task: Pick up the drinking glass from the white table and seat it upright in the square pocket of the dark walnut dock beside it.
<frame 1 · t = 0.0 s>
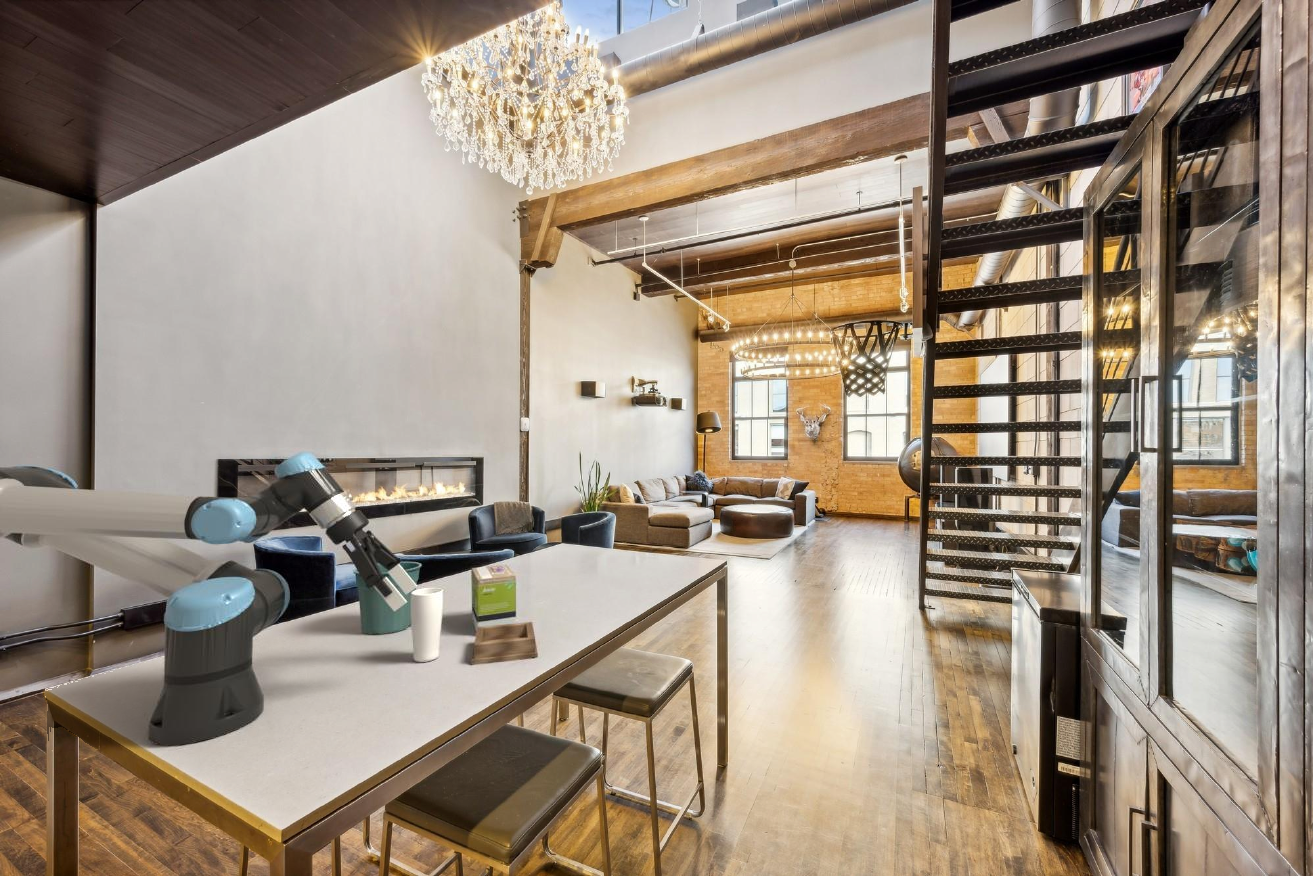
hand: (406, 598, 113), 15 cm above the table, tool tilted 35°, fingers open, 13 cm apart
drinking glass: (426, 659, 119), on the table, touching gripper
flower pot: (387, 628, 141), on the table
tea box: (493, 626, 142), on the table
walnut dock: (505, 650, 124), on the table
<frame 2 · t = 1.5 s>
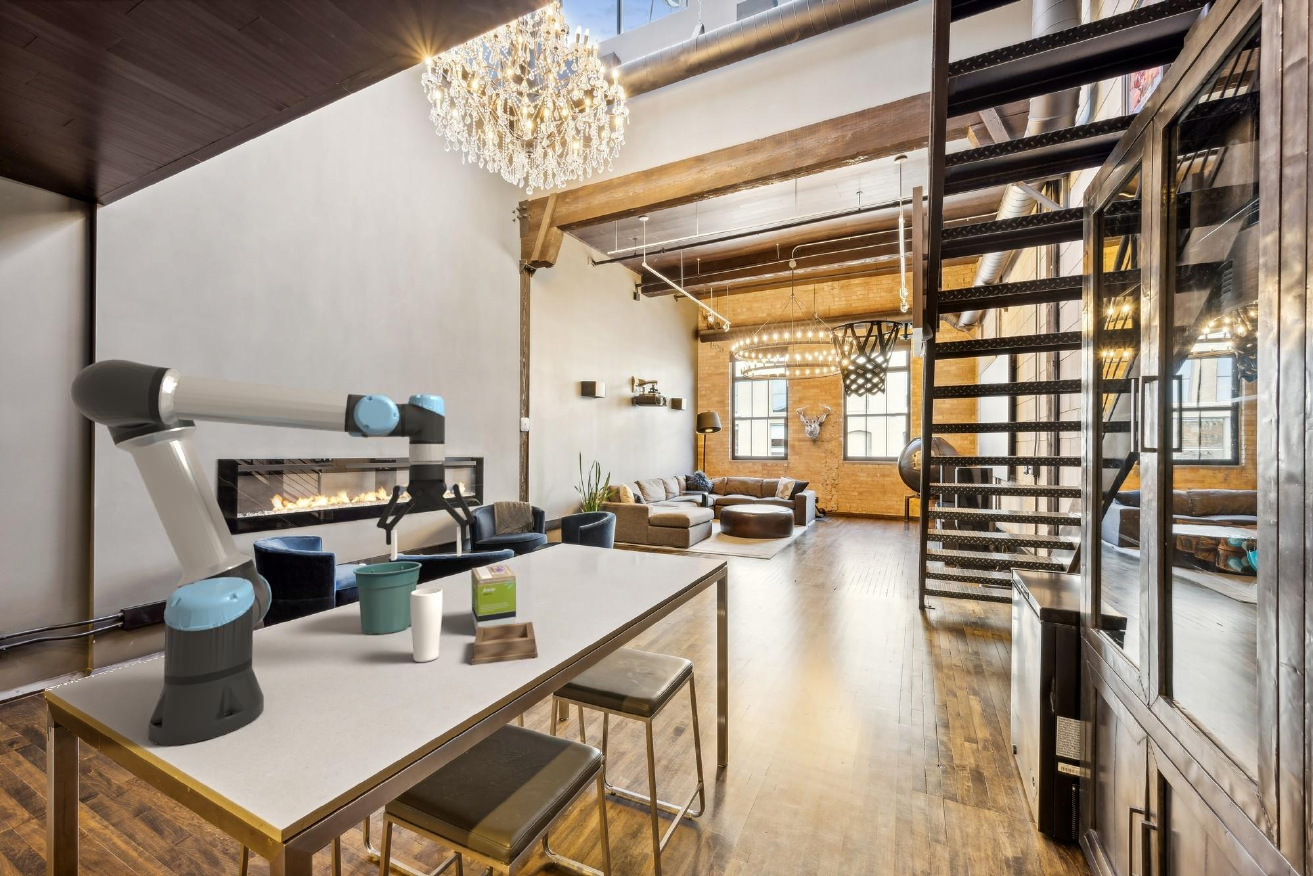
hand: (427, 557, 120), 23 cm above the table, tool pointing down, fingers open, 13 cm apart
drinking glass: (426, 659, 119), on the table
everything else where it was.
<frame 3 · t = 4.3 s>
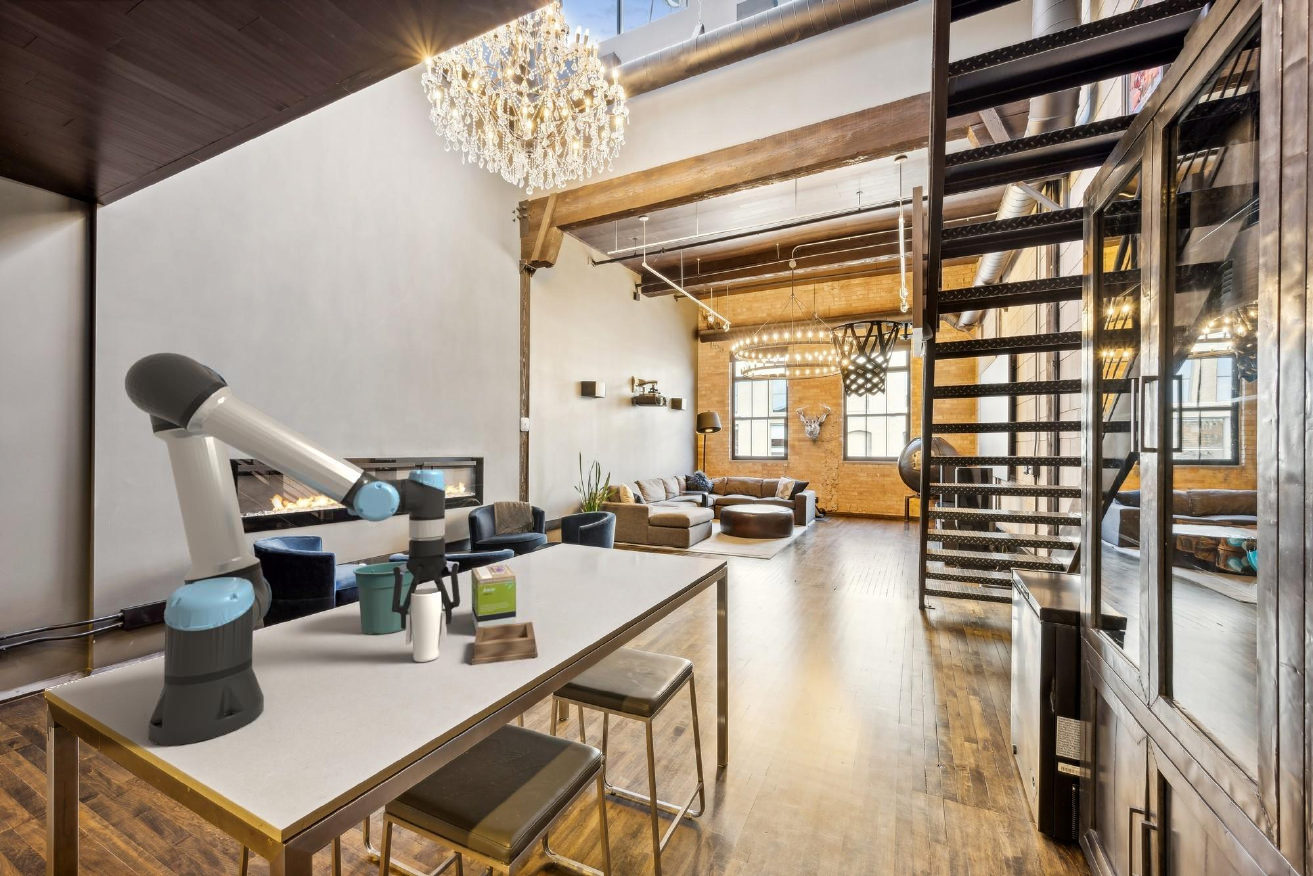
hand: (426, 640, 119), 4 cm above the table, tool pointing down, fingers closed on drinking glass, 7 cm apart
drinking glass: (426, 659, 119), on the table, touching gripper
everything else where it was.
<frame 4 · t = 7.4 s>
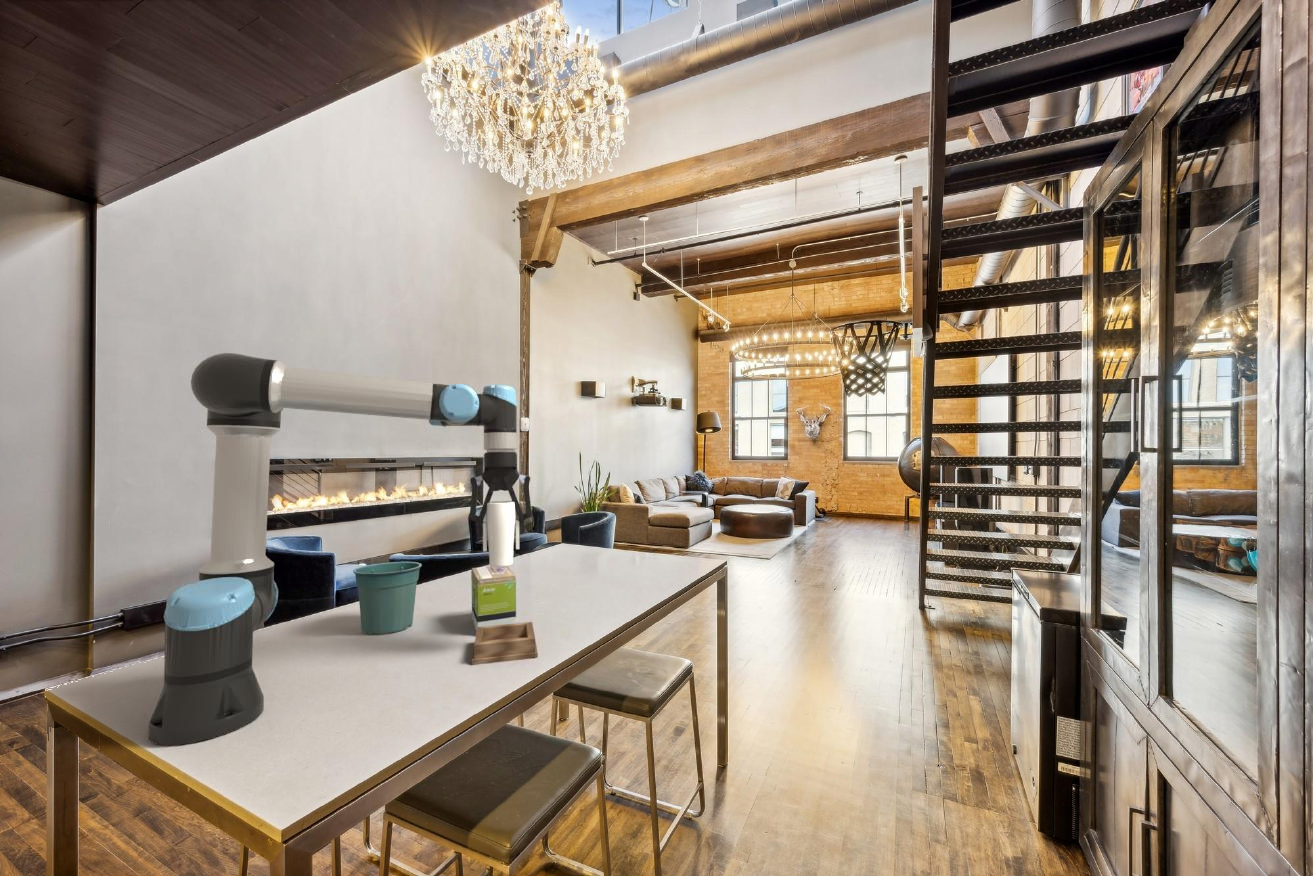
hand: (501, 549, 125), 23 cm above the table, tool pointing down, fingers closed on drinking glass, 7 cm apart
drinking glass: (501, 567, 124), point 19 cm above the table, touching gripper
everything else where it was.
when the fingers open (6 cm above the table, at t = 10.6 s): drinking glass stays where it is, resting on walnut dock.
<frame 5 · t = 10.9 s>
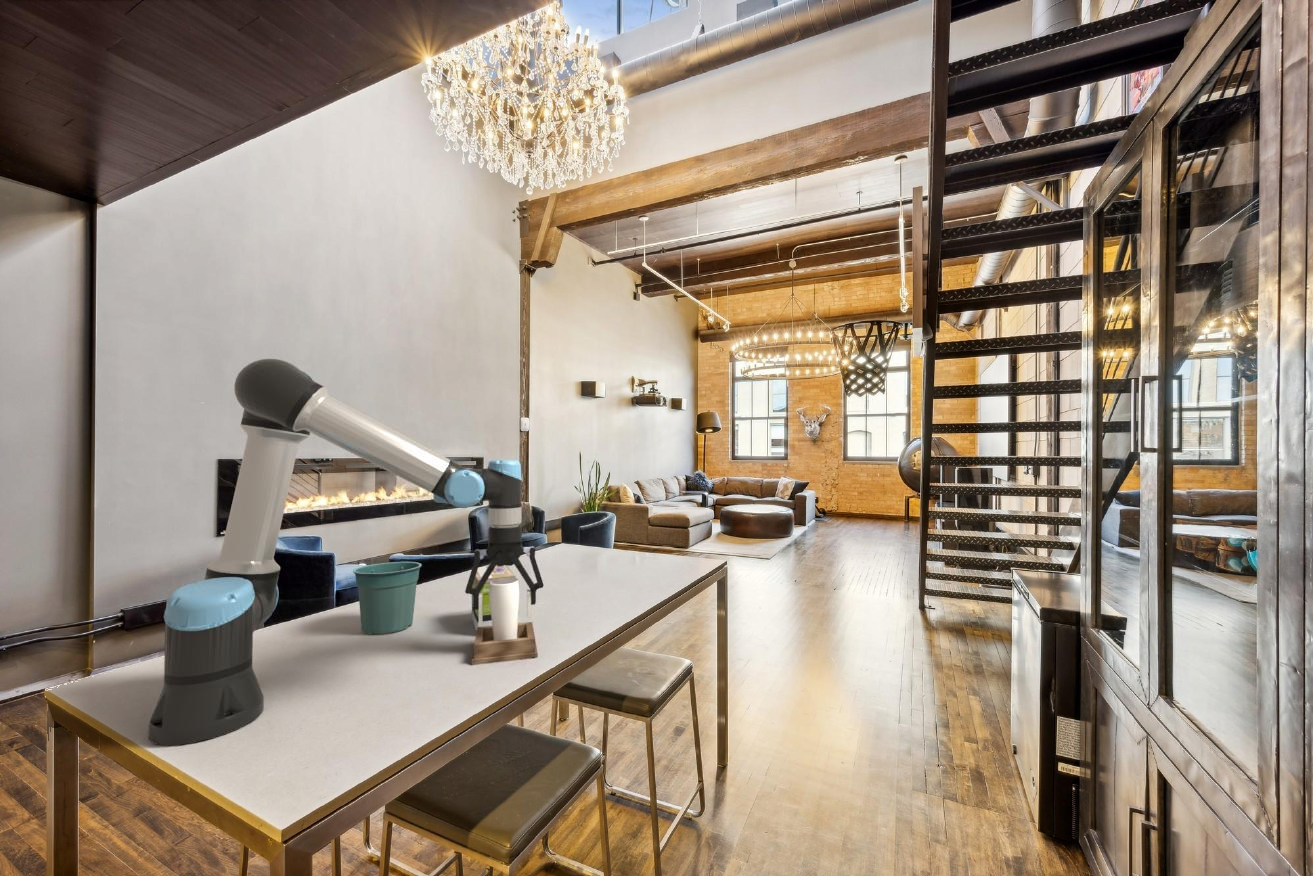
hand: (505, 620, 124), 7 cm above the table, tool pointing down, fingers open, 10 cm apart
drinking glass: (505, 646, 124), point 1 cm above the table, touching walnut dock
everything else where it was.
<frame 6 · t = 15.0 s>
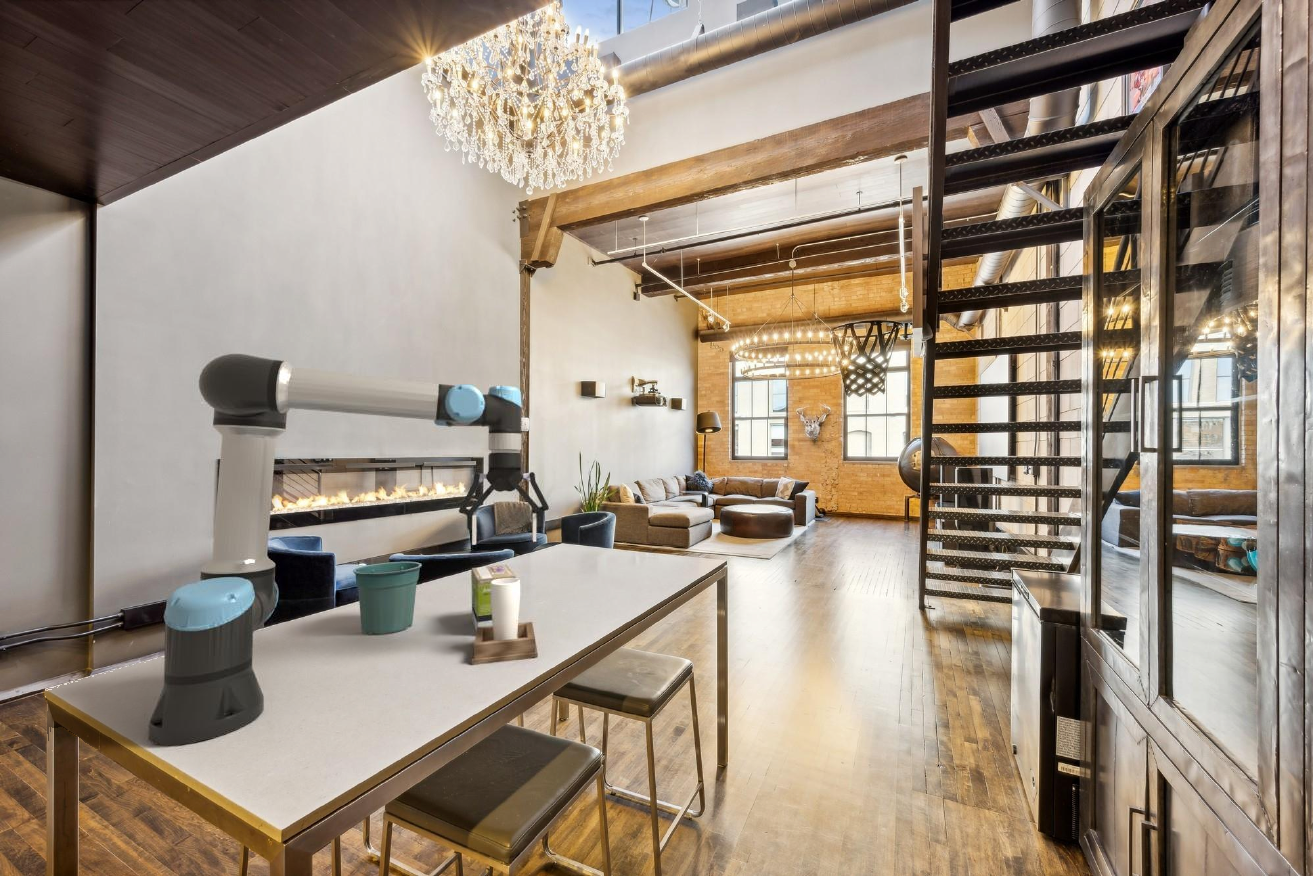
hand: (504, 542, 125), 25 cm above the table, tool pointing down, fingers open, 13 cm apart
nothing on the table moved.
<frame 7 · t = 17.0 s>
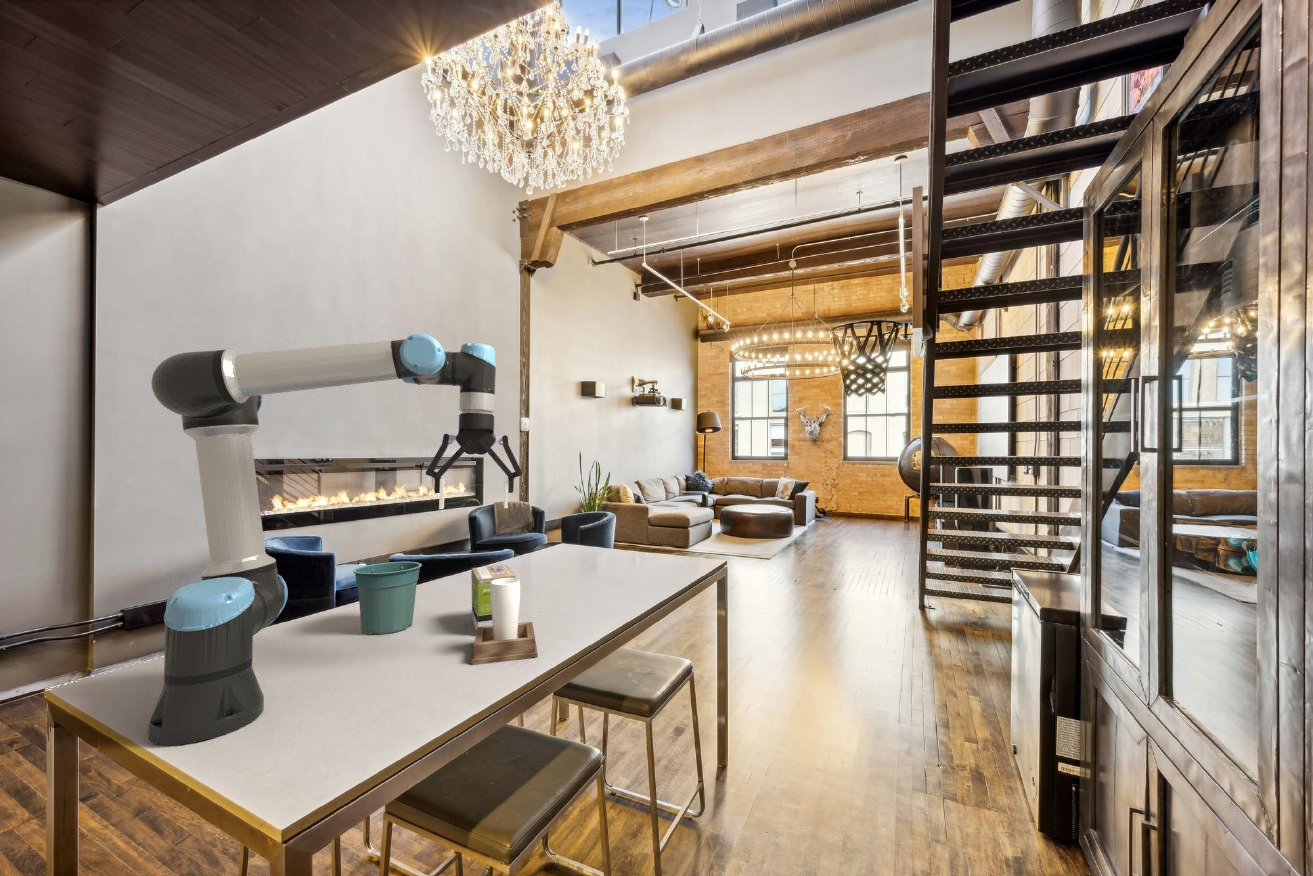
hand: (474, 508, 118), 34 cm above the table, tool pointing down, fingers open, 13 cm apart
nothing on the table moved.
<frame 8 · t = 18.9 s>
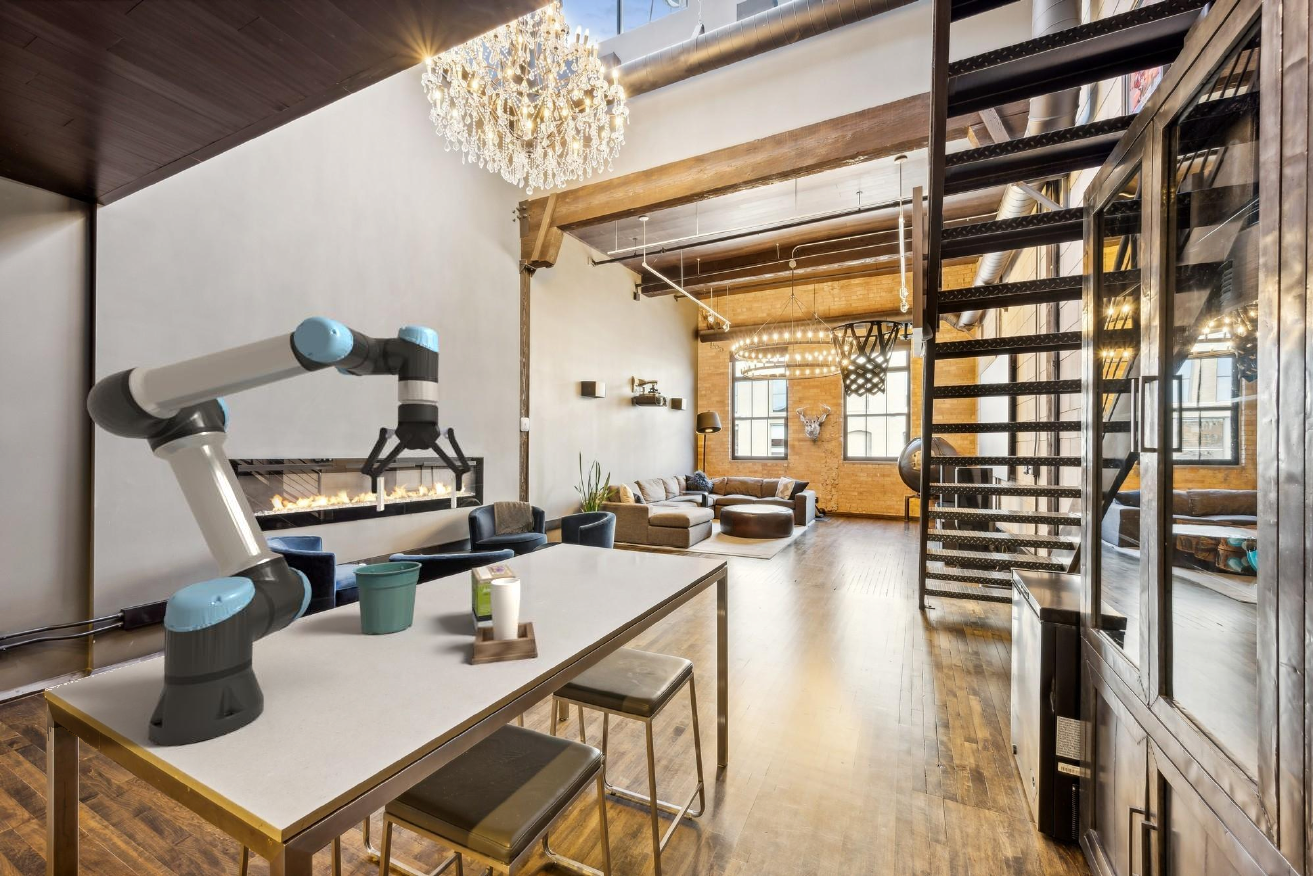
hand: (417, 509, 107), 35 cm above the table, tool pointing down, fingers open, 13 cm apart
nothing on the table moved.
at the end: drinking glass 0.1 cm off-centre on the walnut dock, point 0.8 cm above the walnut dock's base; drinking glass tilted 0°; the gripper is holding nothing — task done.
